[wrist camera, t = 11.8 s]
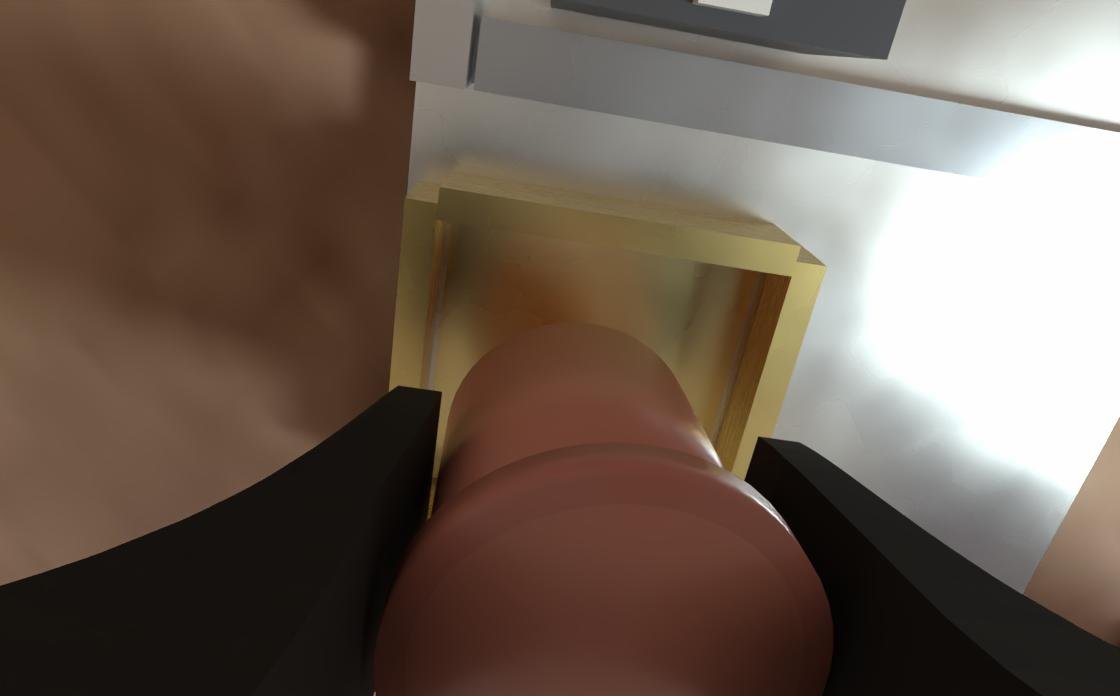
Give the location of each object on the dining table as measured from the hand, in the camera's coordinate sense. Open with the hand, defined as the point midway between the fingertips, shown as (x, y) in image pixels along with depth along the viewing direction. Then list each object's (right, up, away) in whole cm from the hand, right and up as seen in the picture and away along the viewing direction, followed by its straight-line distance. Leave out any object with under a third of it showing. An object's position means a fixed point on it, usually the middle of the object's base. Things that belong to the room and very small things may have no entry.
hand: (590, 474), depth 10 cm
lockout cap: (0, 0, +2) cm, 2 cm away
